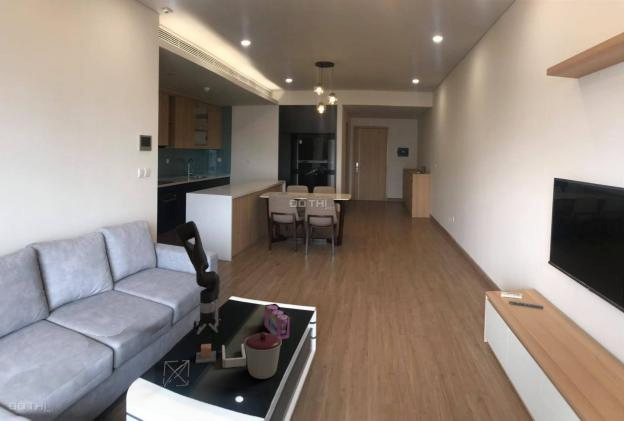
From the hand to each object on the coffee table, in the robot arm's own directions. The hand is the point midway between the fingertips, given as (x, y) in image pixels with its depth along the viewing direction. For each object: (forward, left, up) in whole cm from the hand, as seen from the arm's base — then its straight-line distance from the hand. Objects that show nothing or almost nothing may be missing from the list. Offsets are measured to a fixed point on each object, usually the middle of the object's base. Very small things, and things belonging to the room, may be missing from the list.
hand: (207, 339), depth 208 cm
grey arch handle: (+3, +13, -10) cm, 17 cm away
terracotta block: (-1, -1, -9) cm, 9 cm away
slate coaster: (0, -1, -10) cm, 10 cm away
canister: (+21, +26, -10) cm, 35 cm away
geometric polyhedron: (+21, -14, -10) cm, 27 cm away
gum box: (-26, +40, -10) cm, 49 cm away
